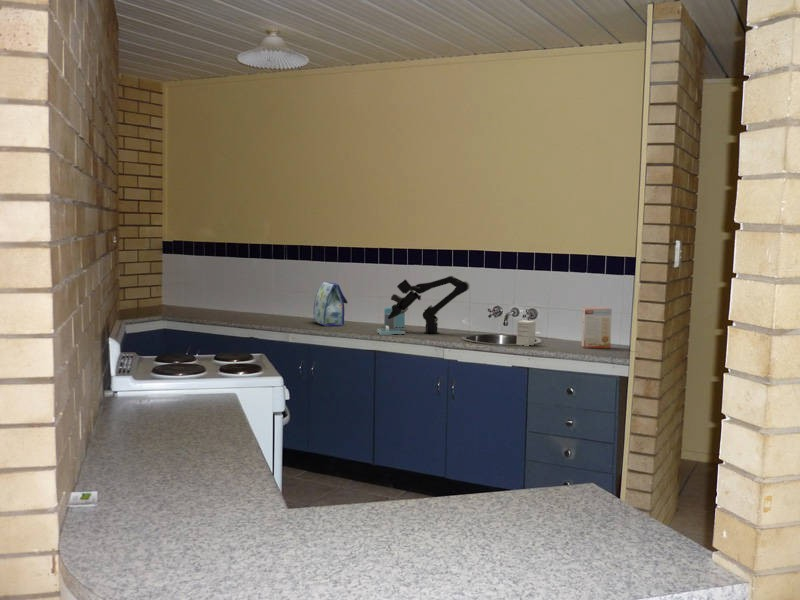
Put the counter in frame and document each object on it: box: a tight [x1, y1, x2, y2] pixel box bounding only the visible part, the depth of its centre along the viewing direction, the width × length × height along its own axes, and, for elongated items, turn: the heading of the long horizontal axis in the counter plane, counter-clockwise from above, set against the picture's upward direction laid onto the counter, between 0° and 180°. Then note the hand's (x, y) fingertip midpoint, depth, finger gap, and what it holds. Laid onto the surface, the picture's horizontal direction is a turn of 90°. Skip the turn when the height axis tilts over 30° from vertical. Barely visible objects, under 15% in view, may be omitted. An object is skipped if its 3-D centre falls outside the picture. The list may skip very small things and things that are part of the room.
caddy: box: [376, 326, 406, 336], centre depth 452 cm, size 14×11×4 cm
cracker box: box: [581, 306, 613, 349], centre depth 413 cm, size 14×6×21 cm, turn 92°
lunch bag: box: [313, 281, 348, 327], centre depth 492 cm, size 22×17×26 cm
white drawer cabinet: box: [516, 319, 536, 347], centre depth 418 cm, size 7×7×13 cm
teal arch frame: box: [383, 306, 406, 328], centre depth 483 cm, size 12×4×12 cm, turn 96°
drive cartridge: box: [384, 313, 396, 329], centre depth 464 cm, size 5×5×10 cm
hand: (390, 317), depth 464 cm, fingers open, 8 cm apart
